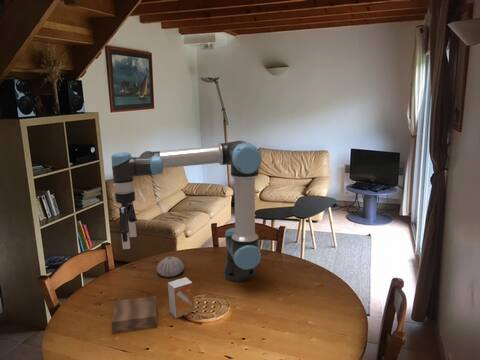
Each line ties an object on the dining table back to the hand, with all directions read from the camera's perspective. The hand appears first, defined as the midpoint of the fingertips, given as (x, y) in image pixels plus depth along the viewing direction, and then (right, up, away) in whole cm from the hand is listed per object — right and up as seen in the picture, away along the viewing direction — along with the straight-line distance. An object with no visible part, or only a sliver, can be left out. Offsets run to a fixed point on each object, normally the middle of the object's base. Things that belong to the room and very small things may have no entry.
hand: (130, 242), depth 165 cm
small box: (+22, -28, -3) cm, 35 cm away
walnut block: (+4, -29, -6) cm, 30 cm away
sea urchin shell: (+11, -20, +34) cm, 41 cm away
